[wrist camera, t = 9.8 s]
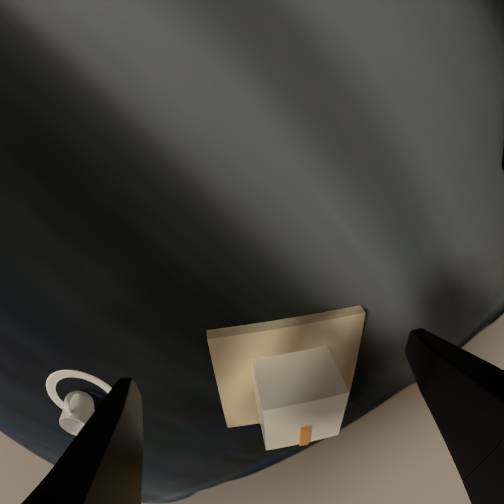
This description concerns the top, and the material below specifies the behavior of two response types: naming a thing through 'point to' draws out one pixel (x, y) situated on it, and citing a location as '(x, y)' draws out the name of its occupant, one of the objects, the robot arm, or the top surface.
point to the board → (279, 353)
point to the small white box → (299, 397)
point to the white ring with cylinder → (74, 400)
